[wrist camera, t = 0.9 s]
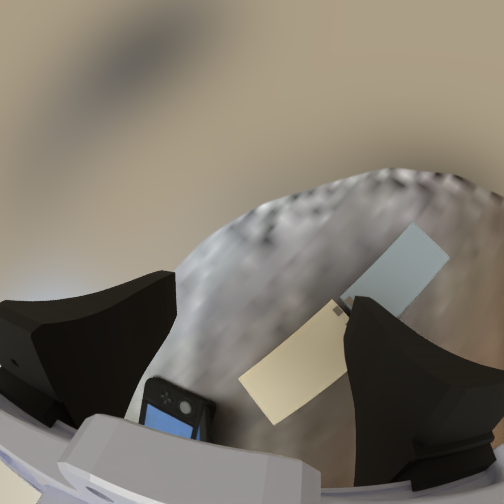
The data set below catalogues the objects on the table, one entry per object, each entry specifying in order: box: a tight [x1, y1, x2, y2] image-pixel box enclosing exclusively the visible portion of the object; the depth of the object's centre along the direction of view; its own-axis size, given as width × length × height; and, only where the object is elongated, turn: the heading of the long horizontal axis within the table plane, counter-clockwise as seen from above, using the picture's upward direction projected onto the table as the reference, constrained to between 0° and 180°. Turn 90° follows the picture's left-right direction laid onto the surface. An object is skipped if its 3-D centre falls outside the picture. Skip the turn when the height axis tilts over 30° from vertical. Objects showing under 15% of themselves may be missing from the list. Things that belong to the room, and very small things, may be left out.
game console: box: [138, 377, 216, 444], centre depth 22 cm, size 16×14×9 cm
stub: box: [340, 222, 450, 318], centre depth 21 cm, size 4×8×6 cm, turn 129°
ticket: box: [238, 299, 349, 425], centre depth 22 cm, size 5×10×5 cm, turn 129°
